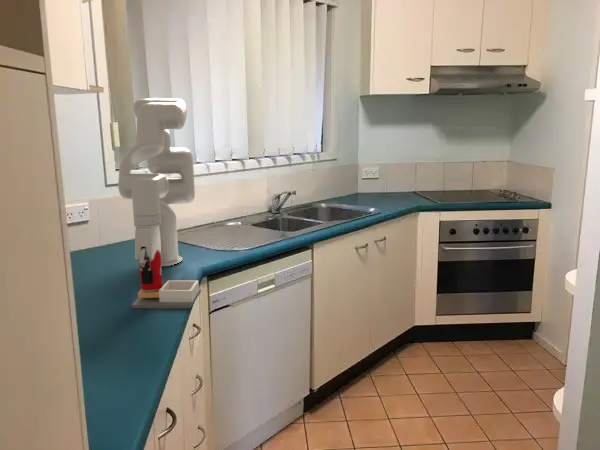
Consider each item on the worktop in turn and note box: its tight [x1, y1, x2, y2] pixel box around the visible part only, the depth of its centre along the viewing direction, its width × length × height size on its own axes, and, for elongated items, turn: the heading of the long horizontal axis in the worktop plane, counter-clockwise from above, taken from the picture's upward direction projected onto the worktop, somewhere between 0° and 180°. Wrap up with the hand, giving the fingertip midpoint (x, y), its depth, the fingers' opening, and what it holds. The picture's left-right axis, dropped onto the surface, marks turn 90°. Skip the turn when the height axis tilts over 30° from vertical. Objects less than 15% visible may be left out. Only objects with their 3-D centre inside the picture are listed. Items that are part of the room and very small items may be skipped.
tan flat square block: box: [137, 288, 159, 299], centre depth 151 cm, size 6×6×2 cm
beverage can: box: [138, 250, 164, 292], centre depth 149 cm, size 6×6×12 cm
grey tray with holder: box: [131, 279, 202, 310], centre depth 150 cm, size 14×17×4 cm
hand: (151, 279), depth 150 cm, fingers closed on beverage can, 6 cm apart
